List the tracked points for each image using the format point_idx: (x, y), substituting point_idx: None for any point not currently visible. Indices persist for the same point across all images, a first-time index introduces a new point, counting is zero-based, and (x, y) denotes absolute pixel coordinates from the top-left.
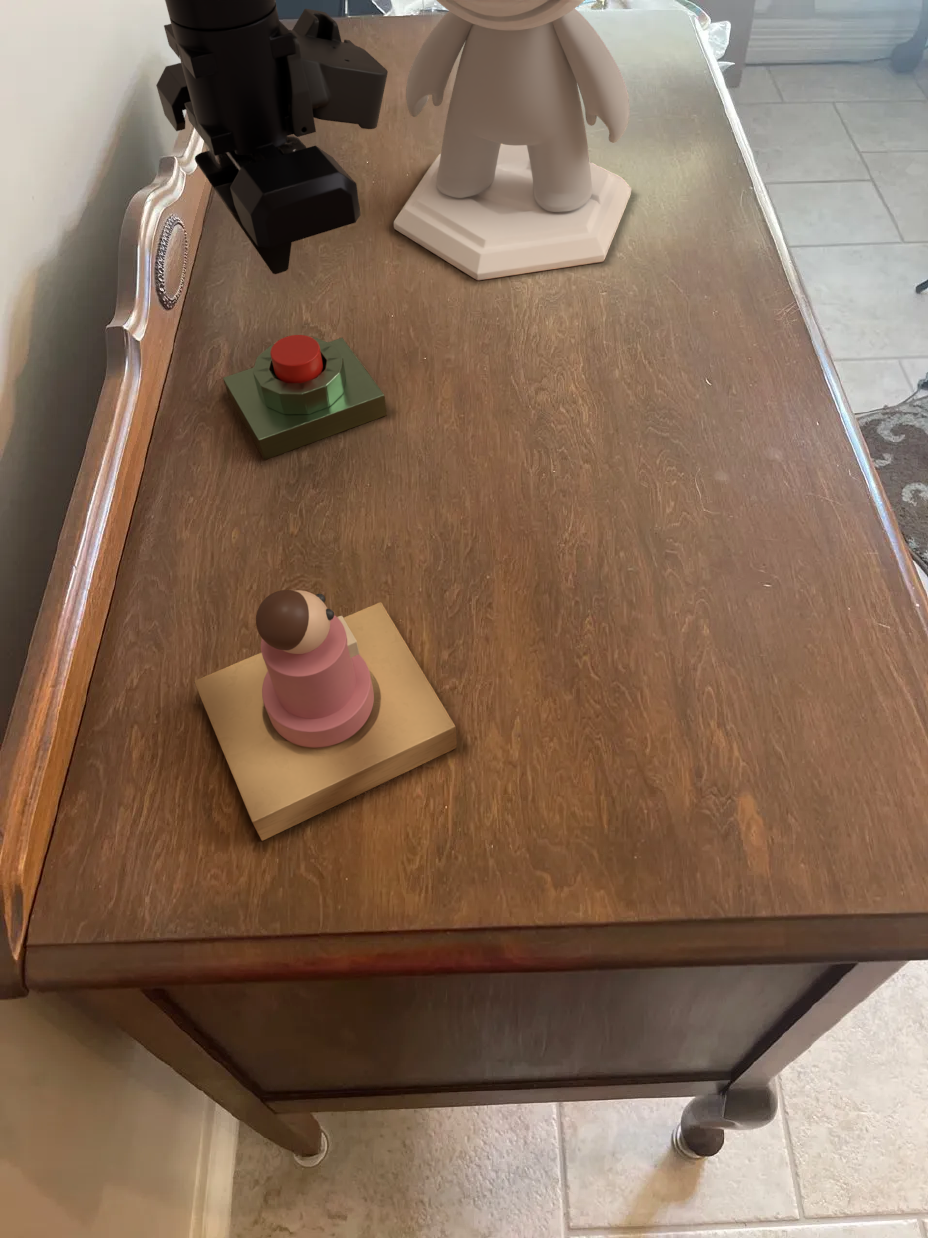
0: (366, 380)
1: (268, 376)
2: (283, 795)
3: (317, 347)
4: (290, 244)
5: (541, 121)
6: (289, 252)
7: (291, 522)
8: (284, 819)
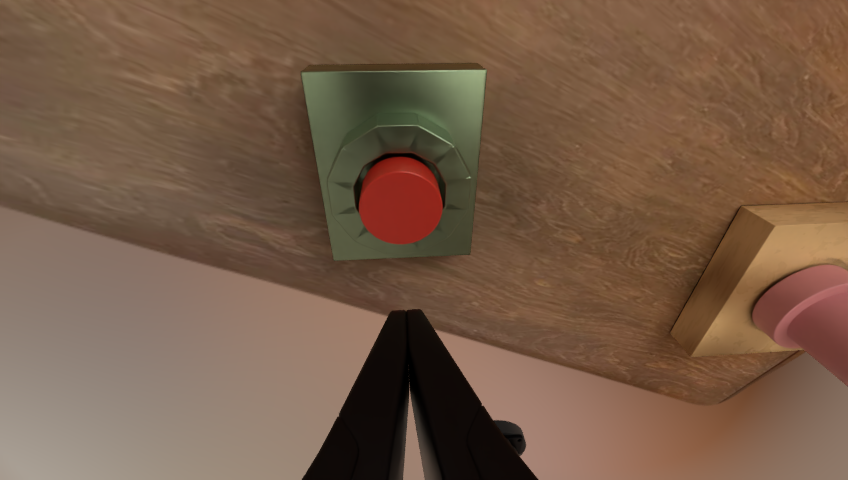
0: (437, 82)
1: None
2: None
3: (413, 176)
4: (455, 363)
5: None
6: (442, 343)
7: (565, 238)
8: None
